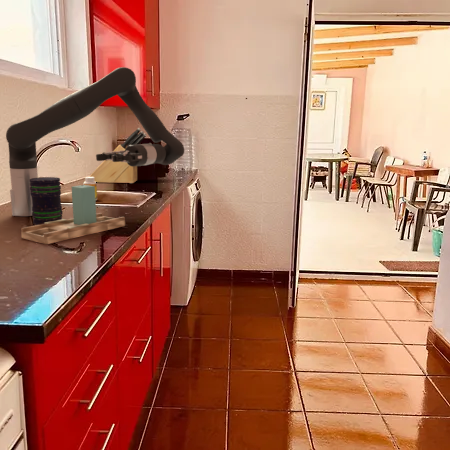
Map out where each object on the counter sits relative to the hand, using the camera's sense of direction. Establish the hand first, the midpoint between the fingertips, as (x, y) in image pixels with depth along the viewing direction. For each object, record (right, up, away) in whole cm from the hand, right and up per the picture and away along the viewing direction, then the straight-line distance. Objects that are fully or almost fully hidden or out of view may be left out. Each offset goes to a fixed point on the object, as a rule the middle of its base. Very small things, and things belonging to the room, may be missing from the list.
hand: (105, 158), depth 152 cm
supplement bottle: (-20, -11, +53) cm, 58 cm away
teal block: (-6, -21, -3) cm, 22 cm away
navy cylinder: (-22, -21, +8) cm, 31 cm away
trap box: (-8, -24, -6) cm, 26 cm away
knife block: (-21, +3, +116) cm, 118 cm away
